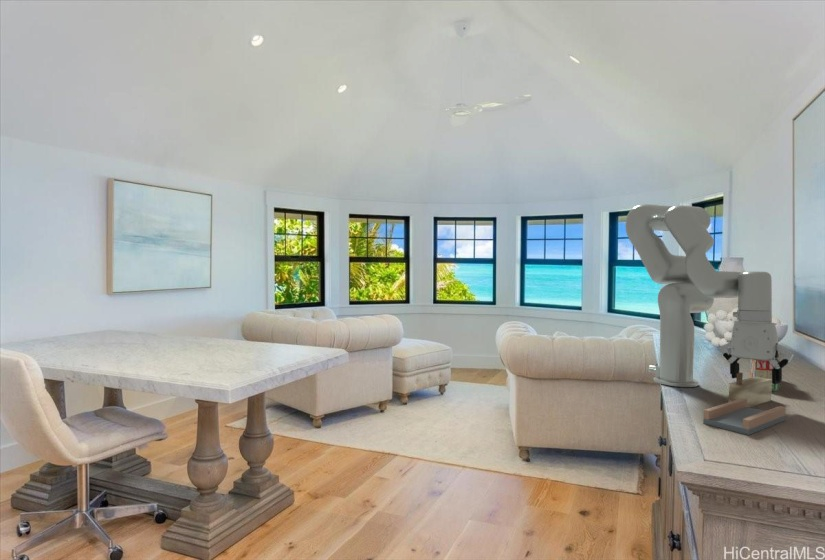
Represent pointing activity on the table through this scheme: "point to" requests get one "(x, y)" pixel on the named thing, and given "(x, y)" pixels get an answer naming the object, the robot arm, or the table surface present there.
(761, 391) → the tapered cream block
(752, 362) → the stack of blocks
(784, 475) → the table surface
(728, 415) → the jig cradle
